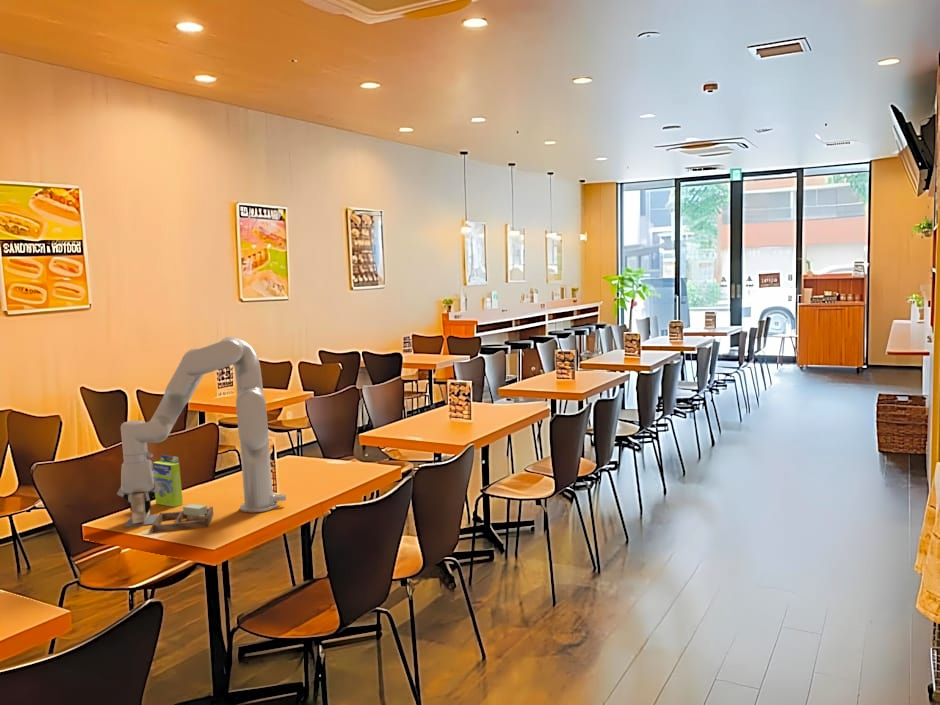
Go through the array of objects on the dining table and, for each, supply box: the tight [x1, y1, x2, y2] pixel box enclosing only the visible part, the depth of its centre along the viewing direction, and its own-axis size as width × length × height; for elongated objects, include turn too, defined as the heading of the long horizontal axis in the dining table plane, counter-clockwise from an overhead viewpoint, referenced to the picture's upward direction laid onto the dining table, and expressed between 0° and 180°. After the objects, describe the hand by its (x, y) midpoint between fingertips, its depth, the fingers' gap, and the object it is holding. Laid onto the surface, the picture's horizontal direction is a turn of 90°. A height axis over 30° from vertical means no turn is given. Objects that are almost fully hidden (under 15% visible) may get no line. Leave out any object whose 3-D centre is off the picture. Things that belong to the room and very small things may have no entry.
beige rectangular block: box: [130, 492, 151, 524], centre depth 263 cm, size 4×10×9 cm, turn 12°
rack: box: [151, 506, 214, 533], centre depth 260 cm, size 17×14×2 cm
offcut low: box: [186, 515, 206, 522], centre depth 261 cm, size 4×9×3 cm, turn 28°
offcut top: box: [182, 503, 208, 516], centre depth 261 cm, size 4×7×2 cm, turn 64°
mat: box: [123, 514, 159, 528], centre depth 264 cm, size 9×10×1 cm
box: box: [152, 454, 184, 508], centre depth 282 cm, size 10×4×17 cm, turn 58°
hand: (141, 511), depth 263 cm, fingers closed on beige rectangular block, 3 cm apart
